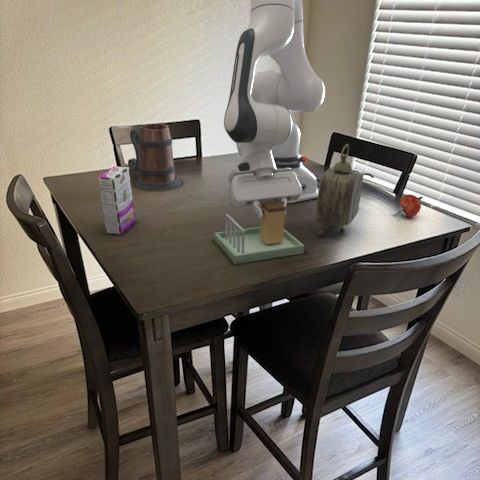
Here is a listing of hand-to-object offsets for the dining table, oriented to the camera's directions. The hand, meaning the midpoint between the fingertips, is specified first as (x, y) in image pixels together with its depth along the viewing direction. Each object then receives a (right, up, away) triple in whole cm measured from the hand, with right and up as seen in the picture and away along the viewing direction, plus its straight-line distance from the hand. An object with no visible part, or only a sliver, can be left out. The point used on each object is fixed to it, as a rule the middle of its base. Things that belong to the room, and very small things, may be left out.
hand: (272, 216), depth 129 cm
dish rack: (-4, -8, +4) cm, 9 cm away
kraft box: (0, -6, +4) cm, 7 cm away
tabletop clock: (+19, -2, +14) cm, 24 cm away
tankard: (-42, +24, +51) cm, 70 cm away
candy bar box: (-44, -1, +13) cm, 46 cm away
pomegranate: (+45, +6, +26) cm, 52 cm away
